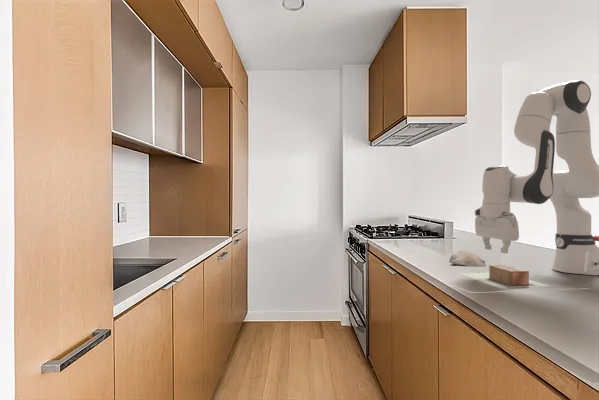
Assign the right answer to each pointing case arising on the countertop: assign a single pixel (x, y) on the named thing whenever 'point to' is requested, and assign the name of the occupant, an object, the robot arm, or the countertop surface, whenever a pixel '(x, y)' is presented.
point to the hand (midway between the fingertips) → (495, 251)
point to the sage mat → (485, 279)
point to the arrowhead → (467, 259)
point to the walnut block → (509, 275)
